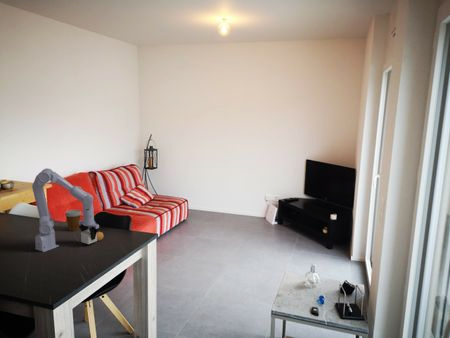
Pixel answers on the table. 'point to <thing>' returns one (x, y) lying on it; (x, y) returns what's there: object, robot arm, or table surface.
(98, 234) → the ball
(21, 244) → the table surface
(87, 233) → the pale grey cube
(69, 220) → the disposable coffee cup
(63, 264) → the table surface
